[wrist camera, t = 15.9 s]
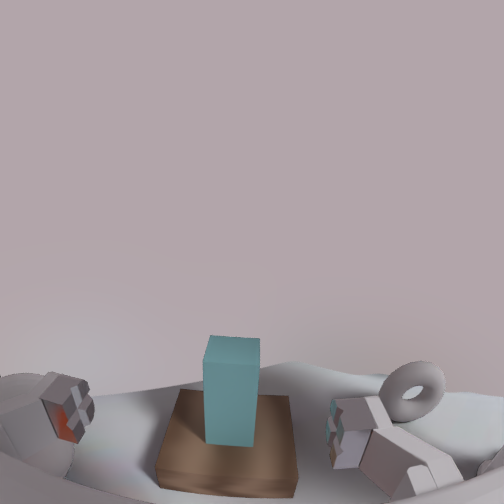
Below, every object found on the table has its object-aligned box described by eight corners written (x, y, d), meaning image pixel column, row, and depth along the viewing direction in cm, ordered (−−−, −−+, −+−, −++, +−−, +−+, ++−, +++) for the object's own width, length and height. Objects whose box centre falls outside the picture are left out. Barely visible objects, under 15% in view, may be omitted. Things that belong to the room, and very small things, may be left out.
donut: (372, 428, 37) (391, 369, 34) (368, 413, 40) (385, 355, 38) (435, 424, 36) (459, 367, 33) (428, 410, 39) (449, 355, 37)
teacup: (46, 411, 34) (27, 351, 32) (114, 470, 27) (93, 409, 25) (-18, 444, 23) (-49, 382, 21) (39, 522, 17) (-5, 464, 14)
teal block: (253, 417, 35) (259, 338, 32) (253, 447, 30) (259, 365, 27) (211, 414, 35) (210, 335, 32) (205, 443, 30) (202, 361, 27)
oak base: (285, 417, 40) (288, 395, 39) (292, 497, 26) (298, 478, 25) (182, 410, 40) (180, 388, 39) (160, 487, 26) (154, 467, 25)
